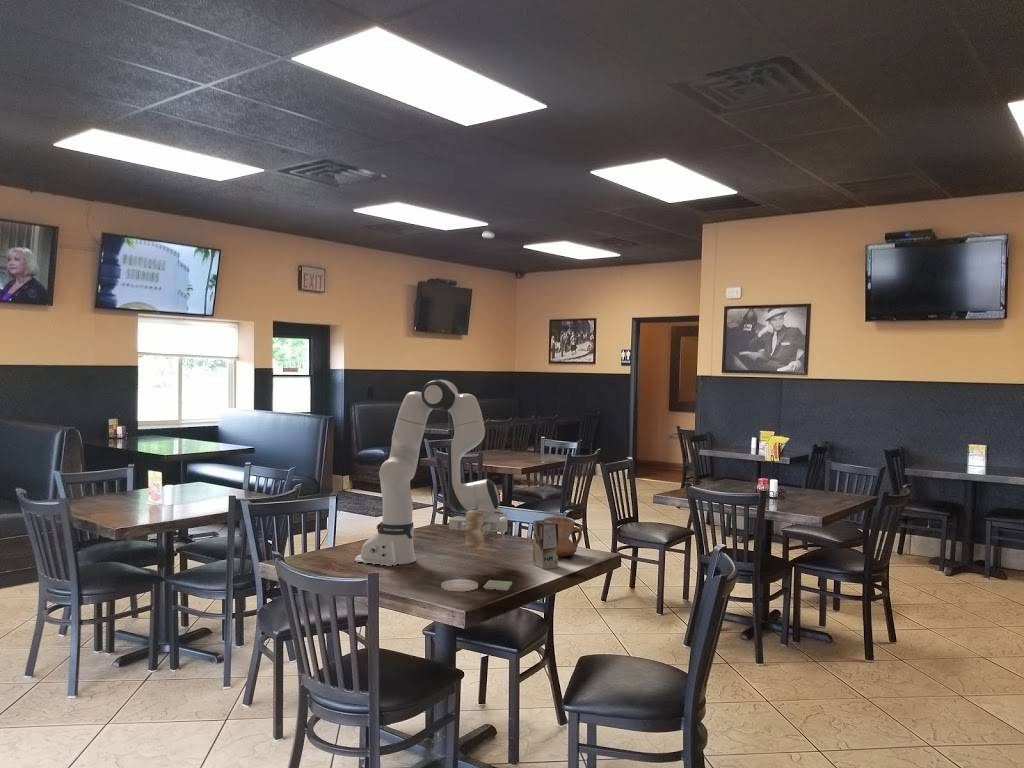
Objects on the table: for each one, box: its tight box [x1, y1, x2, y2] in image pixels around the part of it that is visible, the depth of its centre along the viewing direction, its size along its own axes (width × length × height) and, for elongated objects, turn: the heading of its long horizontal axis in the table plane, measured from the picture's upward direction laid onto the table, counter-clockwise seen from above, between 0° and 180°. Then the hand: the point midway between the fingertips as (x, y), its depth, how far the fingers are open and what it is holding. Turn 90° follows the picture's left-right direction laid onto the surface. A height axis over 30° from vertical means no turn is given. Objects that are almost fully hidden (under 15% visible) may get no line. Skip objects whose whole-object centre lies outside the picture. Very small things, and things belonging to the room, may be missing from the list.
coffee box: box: [532, 519, 559, 570], centre depth 279 cm, size 9×6×16 cm
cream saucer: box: [440, 578, 479, 592], centre depth 248 cm, size 12×12×1 cm
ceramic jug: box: [542, 516, 583, 558], centre depth 296 cm, size 18×14×14 cm
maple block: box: [464, 509, 484, 550], centre depth 257 cm, size 5×5×12 cm
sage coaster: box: [483, 579, 513, 591], centre depth 250 cm, size 8×8×1 cm
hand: (473, 528), depth 256 cm, fingers closed on maple block, 5 cm apart
